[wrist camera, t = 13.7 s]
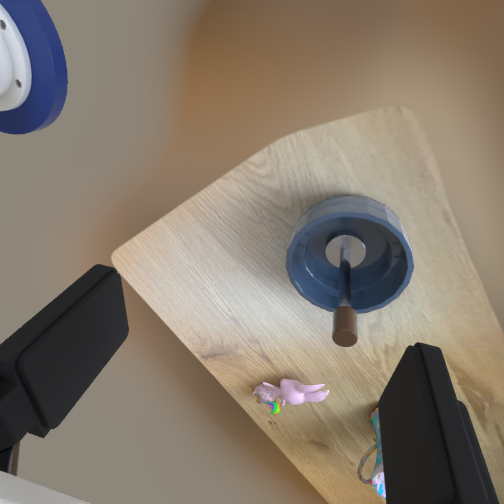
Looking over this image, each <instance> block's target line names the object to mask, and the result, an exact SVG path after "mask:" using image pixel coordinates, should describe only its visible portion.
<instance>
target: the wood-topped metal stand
mask: <svg viewBox="0 0 504 504" xmlns="http://www.w3.org/2000/svg"><path fill="white" fill-rule="evenodd" d="M325 254H326V257H327V259H328V261H329V262H330V263H331V264H332V265H334V266H336V267H338V268H339V298H338V308H336V309H335V311H334V313H333V331H332V339H333V341H334V342H335V343H336V344H337V345H339V346H342V347H350V346H353V345H354V344H355V343H356V342H357V339H358V337H357V314H356V312H355V310H354V309H353V308H352V295H351V268H353V267H356V266H357V265H359V264H360V263H361V262H362V261H363V260H364V258H365V255H366V246H365V242H364V240H363V238H362V237H361V236H360V235H358V234H357V233H355V232H352V231H340V232H337V233H335V234H333V235H332V236H331V237H330V238H329V239H328V241H327V243H326V249H325Z"/></svg>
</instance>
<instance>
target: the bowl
mask: <svg viewBox="0 0 504 504" xmlns="http://www.w3.org/2000/svg"><path fill="white" fill-rule="evenodd" d="M340 231H352V232H355V233H357V234H358V235H360V236H361V237H362V238H363V240H364V242H365V246H366V255H365V258H364V260H363V261H362V262H361V263H360V264H359V265H357V266H356V267H353V268H351V295H352V308H353V309H354V310H355V312H356V314H359V313H367V312H370V311H374V310H377V309H380V308H383V307H384V306H386V305H387V304H389V303H390V302H392V301H393V300H395V299H396V298H398V297H399V296H400V294H401V293H402V292H403V291H404V289H405V288H406V287H407V286H408V284H409V282H410V279H411V276H412V272H413V269H414V262H413V253H412V248H411V245H410V242H409V239H408V236H407V233H406V230H405V229H404V227H403V225H402V223H401V221H400V219H399V218H398V216H397V215H396V214H395V213H393V212H392V211H391V210H390V209H389V208H388V207H386V206H385V205H384V204H382V203H379V202H377V201H374V200H372V199H369V198H367V197H360V196H348V195H345V196H340V197H335V198H330V199H326V200H324V201H322V202H320V203H319V204H317V205H315V206H313V207H311V208H310V209H309V210H308V211H307V212H306V213H305V214H304V215H303V216H302V217H301V218H300V219H299V221H298V223H297V225H296V227H295V229H294V232H293V234H292V237H291V241H290V244H289V247H288V251H287V261H286V268H287V272H288V275H289V278H290V281H291V283H292V284H293V286H294V287H295V288H296V290H297V291H298V293H299V294H300V295H301V296H302V297H304V298H305V299H306V300H308V301H309V302H310V303H312V304H314V305H315V306H317V307H320V308H322V309H325V310H327V311H330V312H334V311H335V309H336V308H338V298H339V268H338V267H336V266H334V265H332V264H331V263H330V262H329V261H328V259H327V257H326V254H325V249H326V243H327V241H328V239H329V238H330V237H331V236H332V235H333V234H335V233H337V232H340Z"/></svg>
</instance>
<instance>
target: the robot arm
mask: <svg viewBox="0 0 504 504" xmlns="http://www.w3.org/2000/svg"><path fill="white" fill-rule="evenodd" d="M31 78H32V73H31V63H30V59H29V55H28V51H27V48H26V45H25V43H24V40H23V38H22V36H21V34H20V32H19V30H18V28H17V26H16V24H15V23H14V21H13V20H12V18H11V17H10V15H9V13H8V12H7V11H6V10H5V9H4V7H3V6H2V5H1V4H0V111H7V110H12V109H15V108H17V107H19V106H20V105H21V104H22V103H23V102H24V101H25V100H26V98H27V96H28V94H29V91H30V87H31ZM128 331H129V327H128V321H127V314H126V309H125V302H124V295H123V289H122V282H121V276H120V274H119V273H117V270H116V269H115V268H113V267H109V266H104V265H100V264H97V265H95V266H93V267H92V268H91V269H90V270H89V271H87V272H86V273H85V274H84V275H83V276H81V277H80V278H79V279H78V280H77V281H75V282H74V283H73V284H72V285H71V286H69V287H68V288H67V289H66V290H65V291H64V292H62V293H61V294H60V295H59V296H58V297H56V298H55V299H54V300H53V301H52V302H50V303H49V304H48V305H47V306H46V307H44V308H43V309H42V310H41V311H40V312H38V313H37V314H36V315H35V316H34V317H32V319H30V320H29V321H28V322H27V323H25V324H24V325H23V326H22V327H21V328H19V329H18V330H17V331H16V332H15V333H13V334H12V335H11V336H10V337H9V338H8V339H6V340H5V341H4V342H3V343H1V344H0V504H90V503H88V502H85V501H82V500H80V499H77V498H74V497H71V496H69V495H66V494H63V493H61V492H58V491H55V490H52V489H50V488H47V487H44V486H42V485H39V484H36V483H33V482H31V481H28V480H25V479H23V478H20V477H17V468H18V458H19V447H20V440H21V439H22V438H23V437H24V436H25V435H26V433H27V432H28V433H30V434H33V435H36V436H39V437H42V438H44V437H45V436H46V435H47V434H48V432H49V431H50V430H51V429H54V428H56V427H57V426H59V424H60V423H61V422H62V421H63V419H64V418H65V417H66V416H67V414H68V413H69V412H70V410H71V409H72V408H73V407H74V405H75V404H76V403H77V401H78V400H79V399H80V398H81V396H82V395H83V394H84V392H85V391H86V390H87V388H88V387H89V386H90V385H91V383H92V382H93V381H94V379H95V378H96V377H97V376H98V374H99V373H100V372H101V370H102V369H103V368H104V366H105V365H106V364H107V363H108V361H109V360H110V359H111V357H112V356H113V355H114V354H115V352H116V351H117V349H118V348H119V347H120V346H121V345H122V343H123V342H124V341H125V339H126V338H127V335H128ZM378 414H379V425H380V436H381V448H382V459H383V470H384V481H385V492H386V504H499V501H498V498H497V495H496V492H495V489H494V486H493V483H492V481H491V478H490V475H489V472H488V469H487V466H486V463H485V460H484V457H483V454H482V451H481V448H480V445H479V442H478V439H477V436H476V433H475V431H474V428H473V425H472V422H471V419H470V416H469V413H468V410H467V408H466V406H465V405H464V404H463V403H462V402H461V401H459V400H457V398H456V394H455V391H454V388H453V385H452V382H451V379H450V376H449V373H448V369H447V366H446V363H445V360H444V357H443V354H442V351H441V349H440V348H439V347H436V346H432V345H428V344H423V343H419V342H417V343H416V344H415V345H414V346H411V345H409V346H408V347H407V349H406V350H405V352H404V354H403V356H402V358H401V360H400V362H399V364H398V365H397V367H396V369H395V371H394V373H393V375H392V377H391V378H390V380H389V382H388V384H387V386H386V388H385V390H384V392H383V393H382V395H381V397H380V400H379V404H378Z"/></svg>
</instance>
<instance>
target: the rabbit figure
mask: <svg viewBox="0 0 504 504" xmlns="http://www.w3.org/2000/svg"><path fill="white" fill-rule="evenodd" d="M323 386H324V384H317V385H303V384H301V383H300V382H299V381H297V380H291V379H282V380H281V382H280V388H279V387H278V386H274V385H271V384H269V383H266V382H263V383H262V384H260V385H258V386H257V387H256V388H255V390H254V392H253V393H252V391H253V390H252V388H251V387H252V386H251V387H250V389H249V394H251V395H252V396H253V395H257V396H259V397H257V403H259V404H262V403H265V404H268V406H269V407H270V408H272V409H273V410H272V412H271V413H270V414H272V415H275V414H277V413H279V411H280V405H279V404H278V403H277V402H276V401H274V400H275V398H277V397H280V398H281V399H282V402H281V405H282V406H284V404H285V402H287V403H288V404H291V405H298V404H301V403H303V402H311V403H316V402H320V401H322V400H323V399H324V398H325V397H326V396H327V395H328V393H329V390H324V391H317V392H314V391H316V390H318V389H320V388H321V387H323ZM248 396H249V395H248ZM260 398H261V400H260ZM259 400H260V401H259ZM257 403H256V404H257Z"/></svg>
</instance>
